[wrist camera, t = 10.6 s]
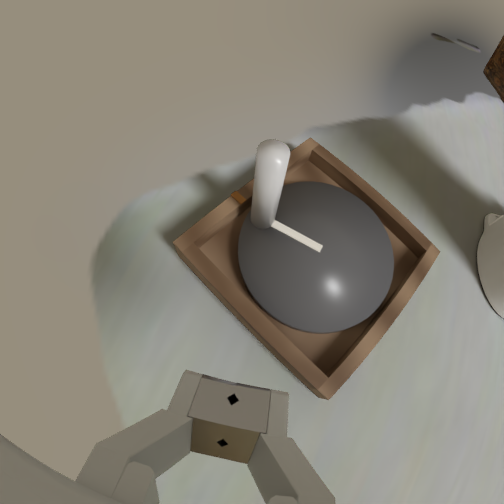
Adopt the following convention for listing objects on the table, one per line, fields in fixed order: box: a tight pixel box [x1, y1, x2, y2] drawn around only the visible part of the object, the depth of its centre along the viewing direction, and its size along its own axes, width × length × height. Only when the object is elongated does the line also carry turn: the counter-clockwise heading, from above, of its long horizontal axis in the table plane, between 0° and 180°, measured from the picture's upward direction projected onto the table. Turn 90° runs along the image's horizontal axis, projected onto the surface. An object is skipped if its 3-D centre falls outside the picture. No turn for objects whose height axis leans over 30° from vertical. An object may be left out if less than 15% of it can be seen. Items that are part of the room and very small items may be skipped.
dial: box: [238, 139, 394, 334], centre depth 25 cm, size 16×16×11 cm
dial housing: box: [173, 138, 440, 400], centre depth 31 cm, size 20×20×4 cm
